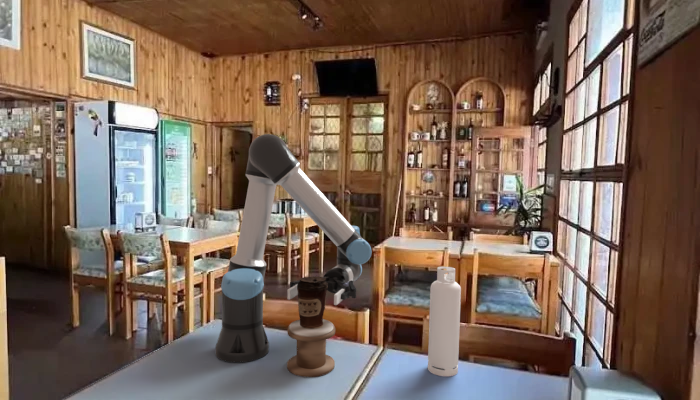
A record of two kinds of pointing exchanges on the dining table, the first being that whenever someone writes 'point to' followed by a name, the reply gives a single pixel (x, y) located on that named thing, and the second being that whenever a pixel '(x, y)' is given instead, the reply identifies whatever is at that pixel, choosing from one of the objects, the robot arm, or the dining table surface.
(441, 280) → the bottle
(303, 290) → the coffee cup
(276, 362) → the dining table surface
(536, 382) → the dining table surface
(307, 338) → the cup pedestal
